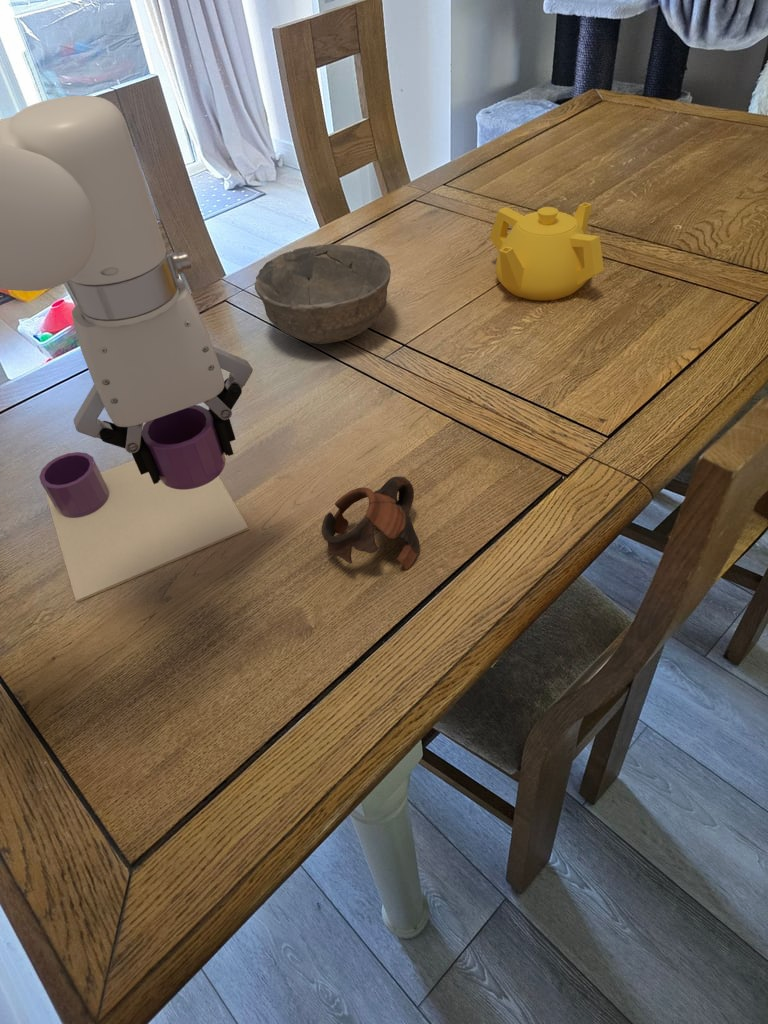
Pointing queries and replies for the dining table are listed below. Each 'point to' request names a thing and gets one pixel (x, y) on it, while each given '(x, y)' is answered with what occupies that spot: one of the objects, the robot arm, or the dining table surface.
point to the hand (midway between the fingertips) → (189, 459)
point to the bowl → (324, 291)
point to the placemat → (141, 529)
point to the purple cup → (74, 484)
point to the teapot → (545, 252)
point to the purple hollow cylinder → (185, 448)
